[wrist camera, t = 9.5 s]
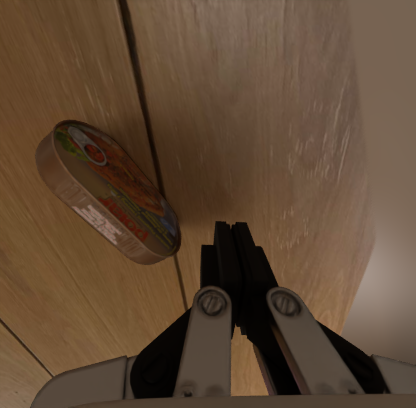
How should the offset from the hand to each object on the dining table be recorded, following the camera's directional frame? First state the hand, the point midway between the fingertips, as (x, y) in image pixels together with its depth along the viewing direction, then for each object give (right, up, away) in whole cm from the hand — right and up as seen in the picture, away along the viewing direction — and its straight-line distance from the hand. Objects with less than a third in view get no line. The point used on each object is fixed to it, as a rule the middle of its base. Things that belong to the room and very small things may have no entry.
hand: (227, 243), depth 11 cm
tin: (-9, +5, +12) cm, 16 cm away
